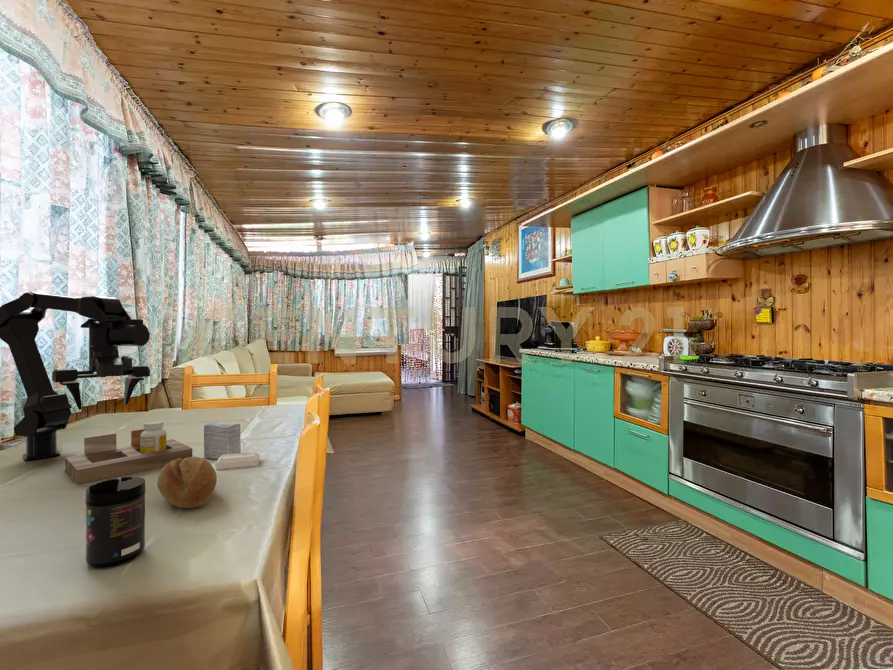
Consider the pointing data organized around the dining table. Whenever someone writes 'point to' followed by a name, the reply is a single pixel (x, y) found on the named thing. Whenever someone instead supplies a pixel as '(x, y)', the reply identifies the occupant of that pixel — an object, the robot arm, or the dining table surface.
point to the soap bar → (237, 460)
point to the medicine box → (221, 439)
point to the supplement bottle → (153, 437)
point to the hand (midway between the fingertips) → (103, 407)
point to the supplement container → (115, 521)
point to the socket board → (119, 457)
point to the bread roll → (187, 482)
